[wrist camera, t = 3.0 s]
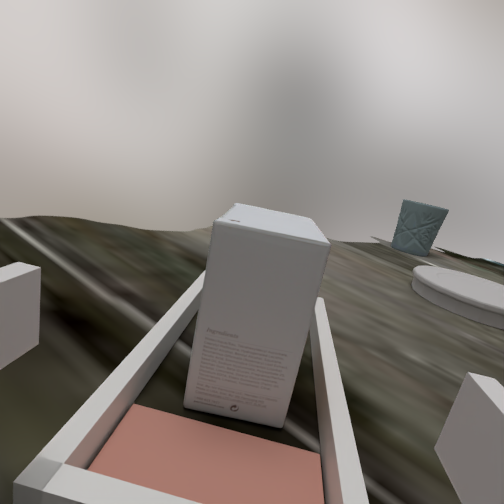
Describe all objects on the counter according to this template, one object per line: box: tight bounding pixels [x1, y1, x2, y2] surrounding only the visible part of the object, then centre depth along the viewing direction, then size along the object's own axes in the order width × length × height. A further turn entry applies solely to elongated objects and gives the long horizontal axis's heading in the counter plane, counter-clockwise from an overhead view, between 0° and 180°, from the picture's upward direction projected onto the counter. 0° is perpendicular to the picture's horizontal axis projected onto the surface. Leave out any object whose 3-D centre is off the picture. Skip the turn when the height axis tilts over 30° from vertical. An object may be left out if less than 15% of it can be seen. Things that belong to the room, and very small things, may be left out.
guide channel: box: [13, 271, 369, 504], centre depth 21 cm, size 12×23×2 cm, turn 173°
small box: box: [183, 203, 331, 428], centre depth 20 cm, size 8×6×10 cm
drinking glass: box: [391, 200, 449, 256], centre depth 80 cm, size 10×10×12 cm
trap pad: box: [88, 404, 324, 504], centre depth 14 cm, size 10×5×1 cm, turn 83°
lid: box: [411, 266, 504, 329], centre depth 48 cm, size 17×20×3 cm
